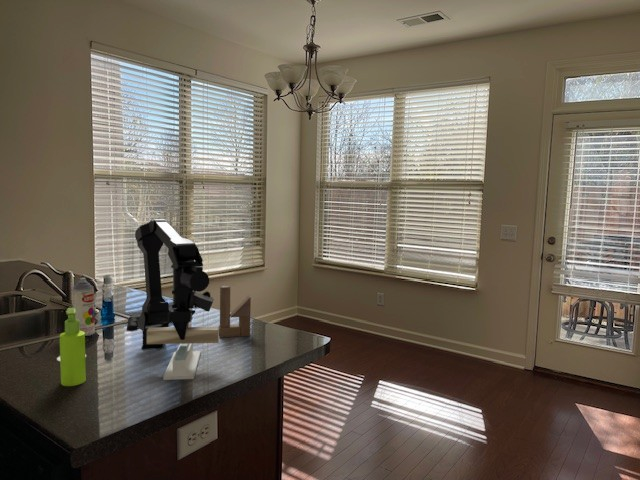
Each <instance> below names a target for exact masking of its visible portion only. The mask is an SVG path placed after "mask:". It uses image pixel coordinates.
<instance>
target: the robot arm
mask: <svg viewBox="0 0 640 480" xmlns="http://www.w3.org/2000/svg"><path fill="white" fill-rule="evenodd" d="M134 237H135V238H134V239H135V240H136V245H137V247H138V249H139V250H140V251H141V252H142V255H143V264H144V265H143V266H144V268H143V269H144V277H145V279H144V280H145V294H146V295H145V296H146V298H145V301H144V303H143V304H142V307H141V314H140V315H139V316H140V317H139V319H138V322H137V323H138V328H137V329H138V330H141V331H142V345H141V349H142V350H143V349H147V350H149V349H163V347H164V346H165V345H166V344H147V329H148V328H159V327H170V326H169V325H170V323H172V324H173V326H174V327H175V329H176V331H177V333H178V335H179V337H180V339H181V340H184V339H185V335H186V329H187V327H189V325H190V324H189V323H190V322H192V320H193V318H194V314H195V313H196V310H195V309H200V310H204V311H205V312H210V311H211V308H212V305H213V303H214V297H213V296H211V295H212V294H211V292H210V291H207V290H206V289H207V288H208V286H209V284H210V278H209V275H208V274H207V273H206V271H203V270H204V267H203V266H204V264H203V262H204V260H203V257H202V255H201V253H200V251H199V248H198V245H197V244H196V243H195V242H194V241H192V240H191V239H189V238H184V237H182V236H181V235H180V234H179V233H178V232H177V231H176V230H175V229H174V228H173V226H171V225H170V222H169V221H168V219H164V218H162V219H161V218H159V219H157V218H156V219H154V218H153V219H151V220H150V221H148V222H147V223H144V224H141V225H139V226H138V228H137V229H136V230H135V231H134ZM163 245H165V246H166V248H167V249H168V251H167V256H168V257H169V258H168V259H170V261H171V263H172V264H171V266H170V267H171V269H172V270H173V271H172V284H173V285H172V290H171V294H172V304H171V308H172V309H171V310H170V306H169V302H168V301H166V300H165V299H164V297H163V291H162V279H161V278H162V277H161V264H160V252H161V249H162V248H163ZM204 290H205V291H204ZM201 292H203V293H201ZM192 309H193V310H192Z"/></svg>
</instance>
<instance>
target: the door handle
mask: <svg viewBox="0 0 640 480" xmlns="http://www.w3.org/2000/svg"><path fill="white" fill-rule="evenodd" d="M139 317H140V315H131V316H129V317H128V318H127V325H126V329H127V331H136V330H138V329H139V328H138V323H137V322H138V319H139Z"/></svg>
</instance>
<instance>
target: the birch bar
mask: <svg viewBox="0 0 640 480" xmlns="http://www.w3.org/2000/svg"><path fill="white" fill-rule="evenodd" d="M219 339H220V336H219V326H188V327H187V329H186V335H185V339H184V340H181V339H180V337H179V335H178V333H177V331H176V329H175V327H173V326H172V327H171V326H168V327H159V328H148V329H147V344H165V345H180V344H193V345H194V344H219Z"/></svg>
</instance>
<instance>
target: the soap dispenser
mask: <svg viewBox="0 0 640 480" xmlns="http://www.w3.org/2000/svg"><path fill="white" fill-rule="evenodd" d="M75 311H76V307H74V308H72V307H68V308H66V316H67V317H68V318H67V319H66V320H65V321H64V332H62V333H60V334H59V356H60V361H59V363H60V365H59V366H60V385H62V386H64V387H74V386H79V385H81V384H83V383H85V382H86V380H87V379H86V378H87V377H86V375H87V373H86V372H87V371H86V357H85V354H86V337H85V332H83V331H79V320H78V319H76V314H75Z"/></svg>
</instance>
